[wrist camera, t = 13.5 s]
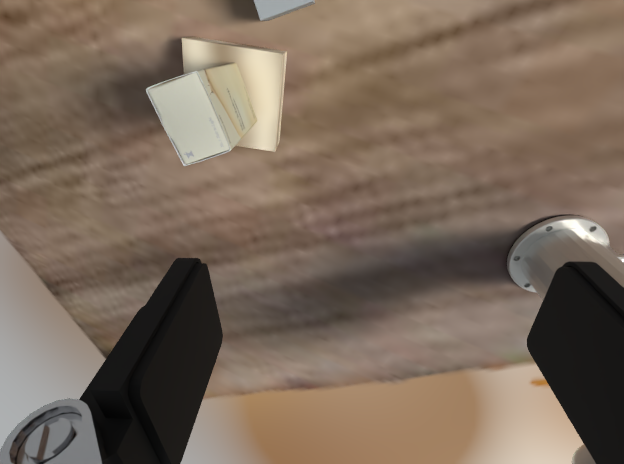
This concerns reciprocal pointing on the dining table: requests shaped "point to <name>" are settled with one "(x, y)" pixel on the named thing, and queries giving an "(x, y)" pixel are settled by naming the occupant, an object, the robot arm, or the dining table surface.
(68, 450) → the robot arm
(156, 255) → the dining table surface
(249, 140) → the pedestal
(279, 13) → the grey cube
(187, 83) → the skincare box
